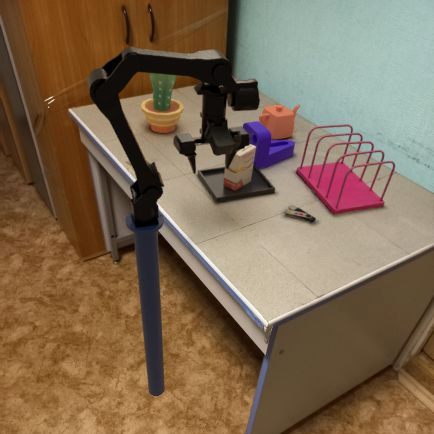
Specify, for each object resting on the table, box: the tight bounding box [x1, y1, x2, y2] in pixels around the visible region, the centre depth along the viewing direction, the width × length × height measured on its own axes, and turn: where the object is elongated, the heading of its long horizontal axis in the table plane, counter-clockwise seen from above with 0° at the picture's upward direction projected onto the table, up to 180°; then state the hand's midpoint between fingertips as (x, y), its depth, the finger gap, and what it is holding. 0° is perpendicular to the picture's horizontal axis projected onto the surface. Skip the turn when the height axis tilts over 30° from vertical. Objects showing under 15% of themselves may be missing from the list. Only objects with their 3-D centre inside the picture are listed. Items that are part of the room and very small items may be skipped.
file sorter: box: [295, 123, 396, 215], centre depth 128 cm, size 17×25×16 cm
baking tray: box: [197, 163, 276, 204], centre depth 131 cm, size 19×16×2 cm
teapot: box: [258, 104, 302, 140], centre depth 155 cm, size 12×18×10 cm, turn 118°
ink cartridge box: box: [223, 144, 256, 191], centre depth 126 cm, size 9×5×15 cm, turn 142°
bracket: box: [242, 120, 296, 170], centre depth 141 cm, size 18×11×12 cm, turn 115°
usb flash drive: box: [284, 204, 317, 224], centre depth 121 cm, size 9×5×1 cm, turn 43°
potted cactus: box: [140, 73, 184, 134], centre depth 147 cm, size 15×15×25 cm
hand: (210, 170), depth 111 cm, fingers open, 9 cm apart
